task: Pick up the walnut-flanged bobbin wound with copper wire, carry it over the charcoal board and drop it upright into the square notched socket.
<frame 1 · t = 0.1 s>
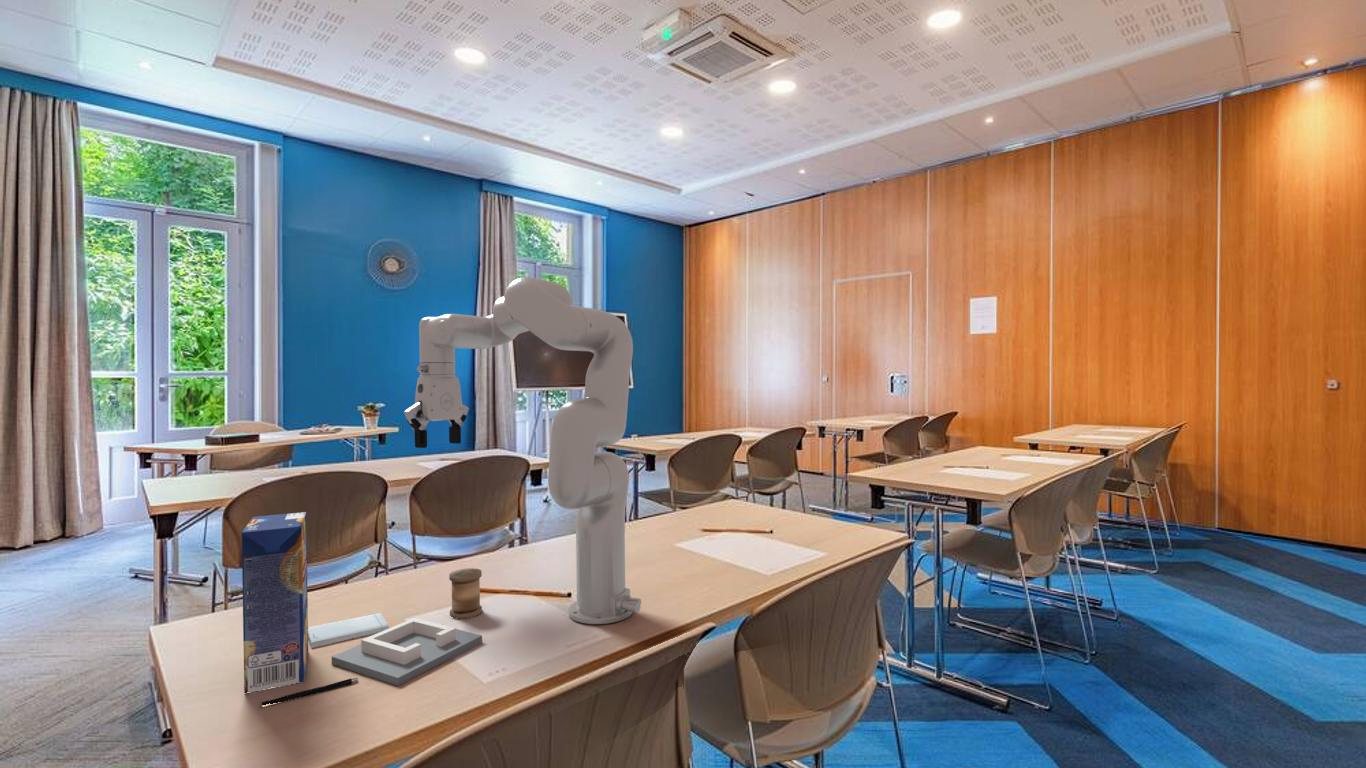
hand: (438, 445, 141), 31 cm above the table, tool pointing down, fingers open, 9 cm apart
bobbin: (466, 613, 121), on the table
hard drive: (347, 635, 113), on the table
notched board: (409, 652, 104), on the table
black pencil: (311, 697, 91), on the table
juice carton: (278, 673, 98), on the table
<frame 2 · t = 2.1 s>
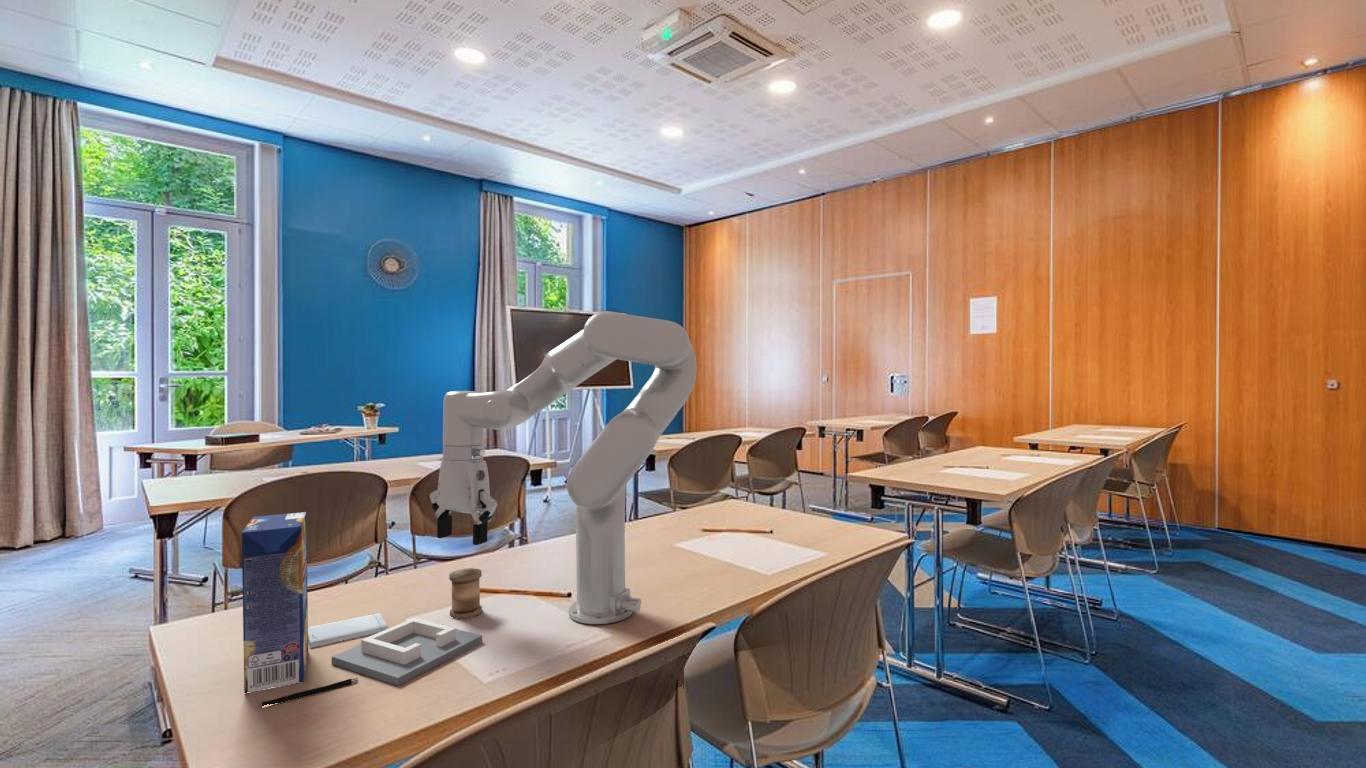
hand: (462, 540, 121), 15 cm above the table, tool pointing down, fingers open, 9 cm apart
nothing on the table moved.
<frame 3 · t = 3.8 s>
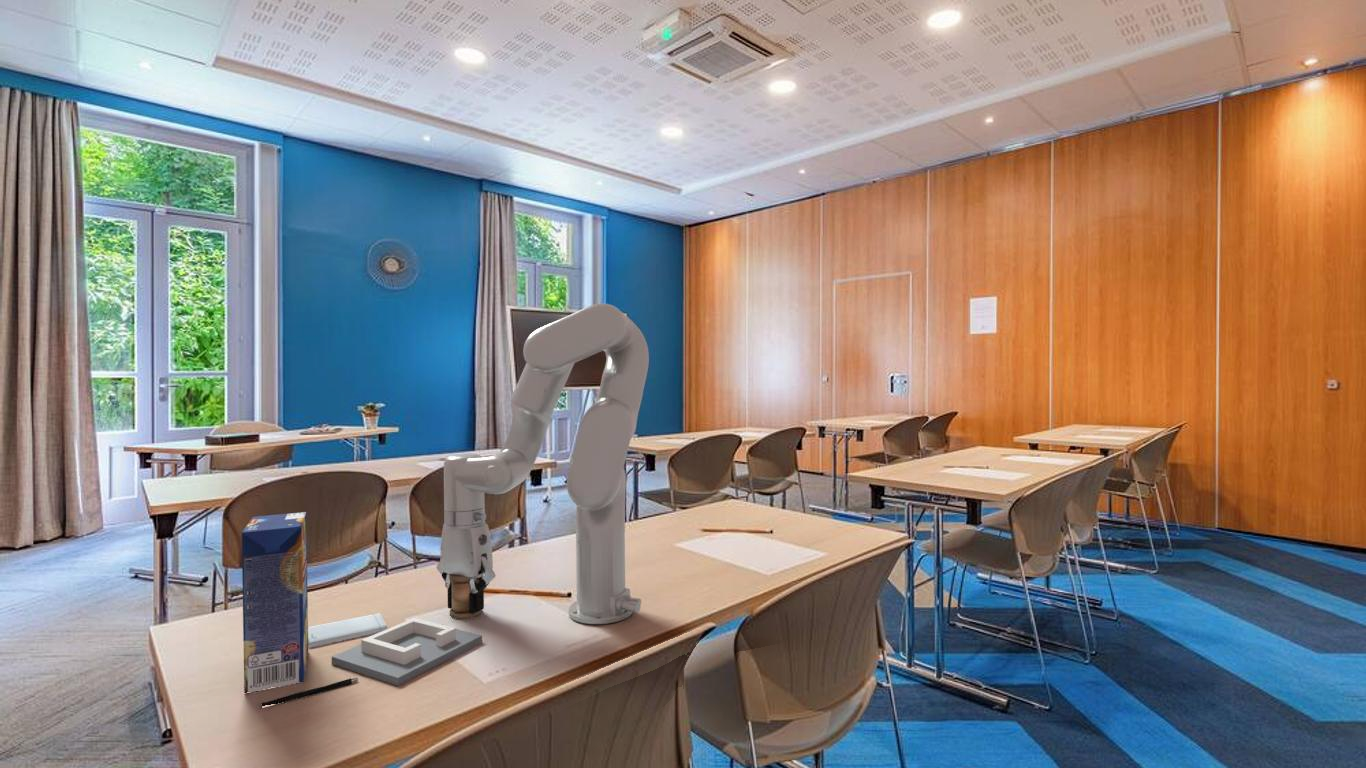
hand: (465, 607, 121), 1 cm above the table, tool pointing down, fingers closed on bobbin, 5 cm apart
bobbin: (465, 613, 121), on the table, touching gripper
everything else where it was.
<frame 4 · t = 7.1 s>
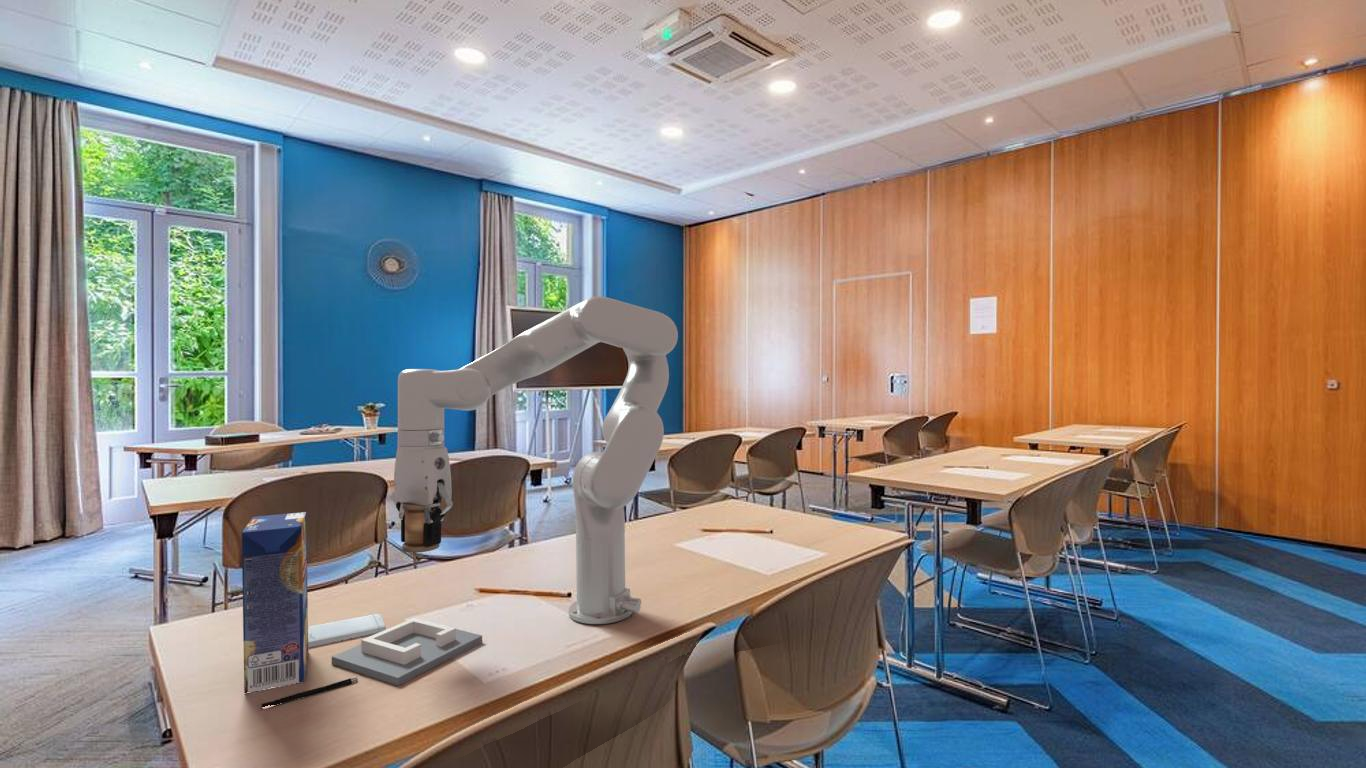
hand: (421, 541, 108), 18 cm above the table, tool pointing down, fingers closed on bobbin, 5 cm apart
bobbin: (421, 547, 108), point 17 cm above the table, touching gripper
everything else where it was.
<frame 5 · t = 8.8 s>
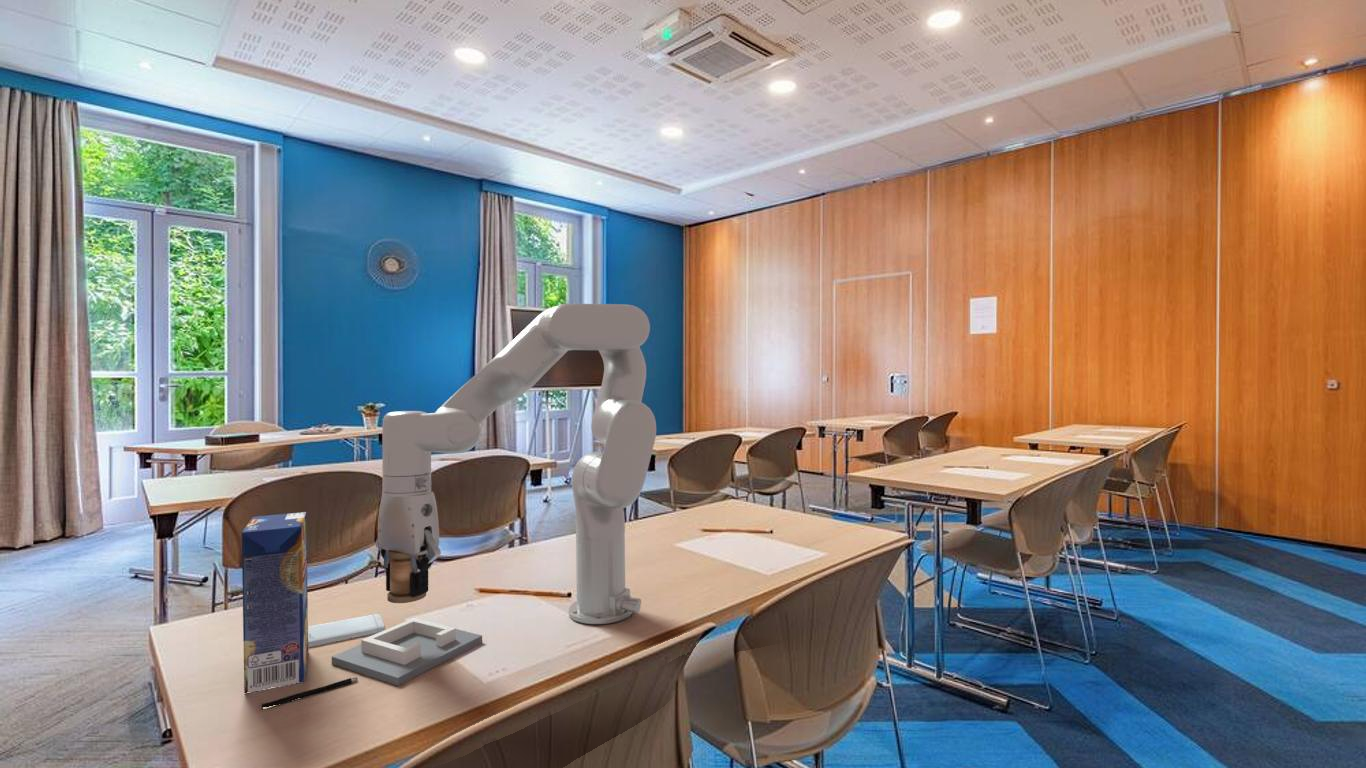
hand: (407, 590, 104), 11 cm above the table, tool pointing down, fingers closed on bobbin, 5 cm apart
bobbin: (407, 596, 104), point 10 cm above the table, touching gripper
everything else where it was.
when the fingers open (5 cm above the table, at t = 10.2 s): bobbin drops 3 cm, resting on notched board.
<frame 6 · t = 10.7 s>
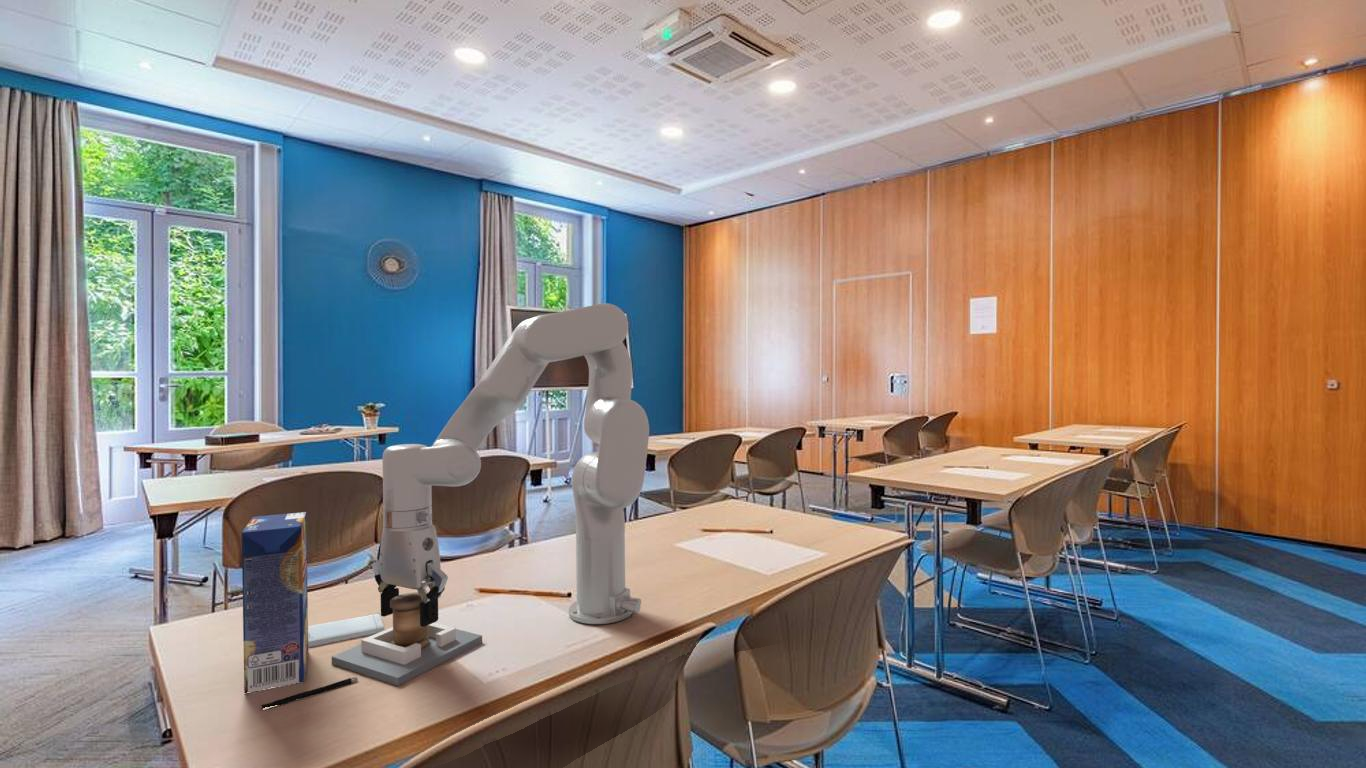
hand: (409, 618, 104), 6 cm above the table, tool pointing down, fingers open, 9 cm apart
bobbin: (410, 645, 104), point 1 cm above the table, touching notched board
everything else where it was.
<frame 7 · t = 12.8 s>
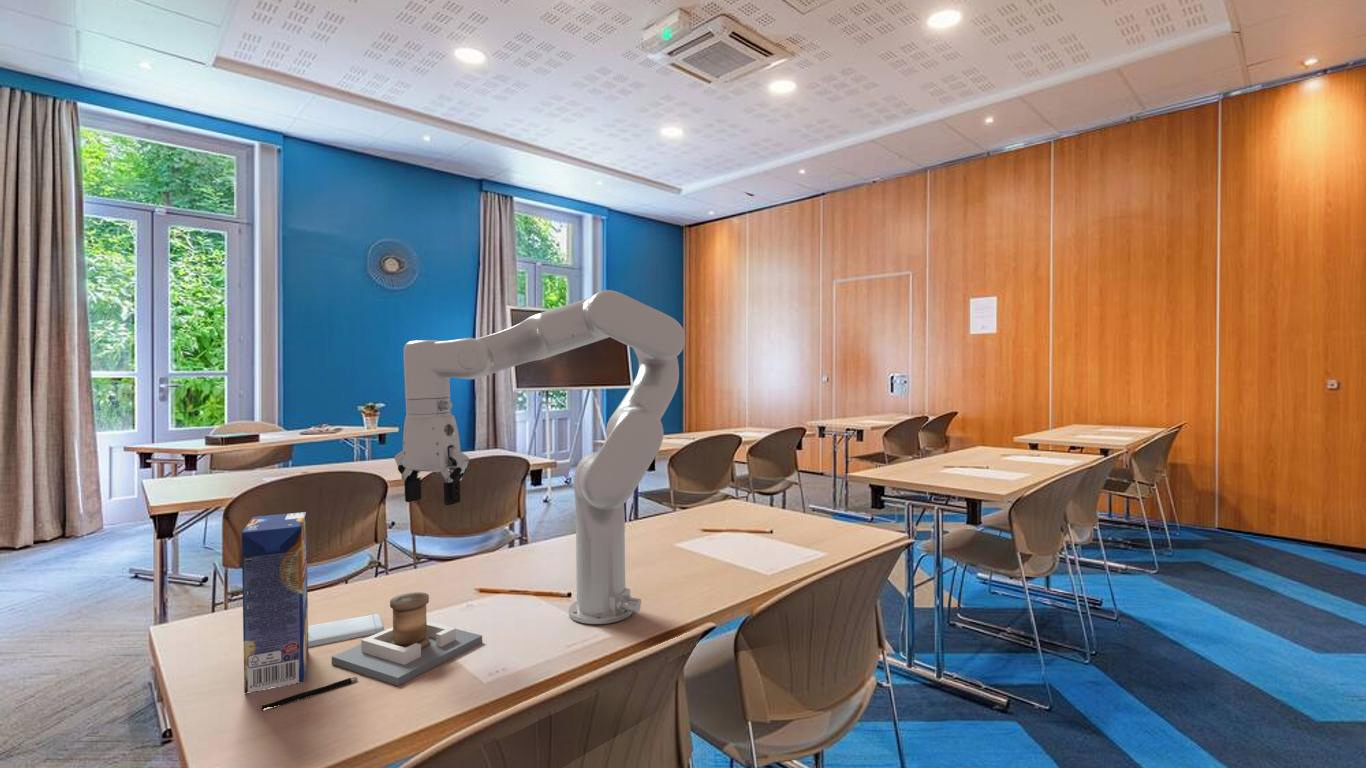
hand: (432, 502, 112), 24 cm above the table, tool pointing down, fingers open, 9 cm apart
nothing on the table moved.
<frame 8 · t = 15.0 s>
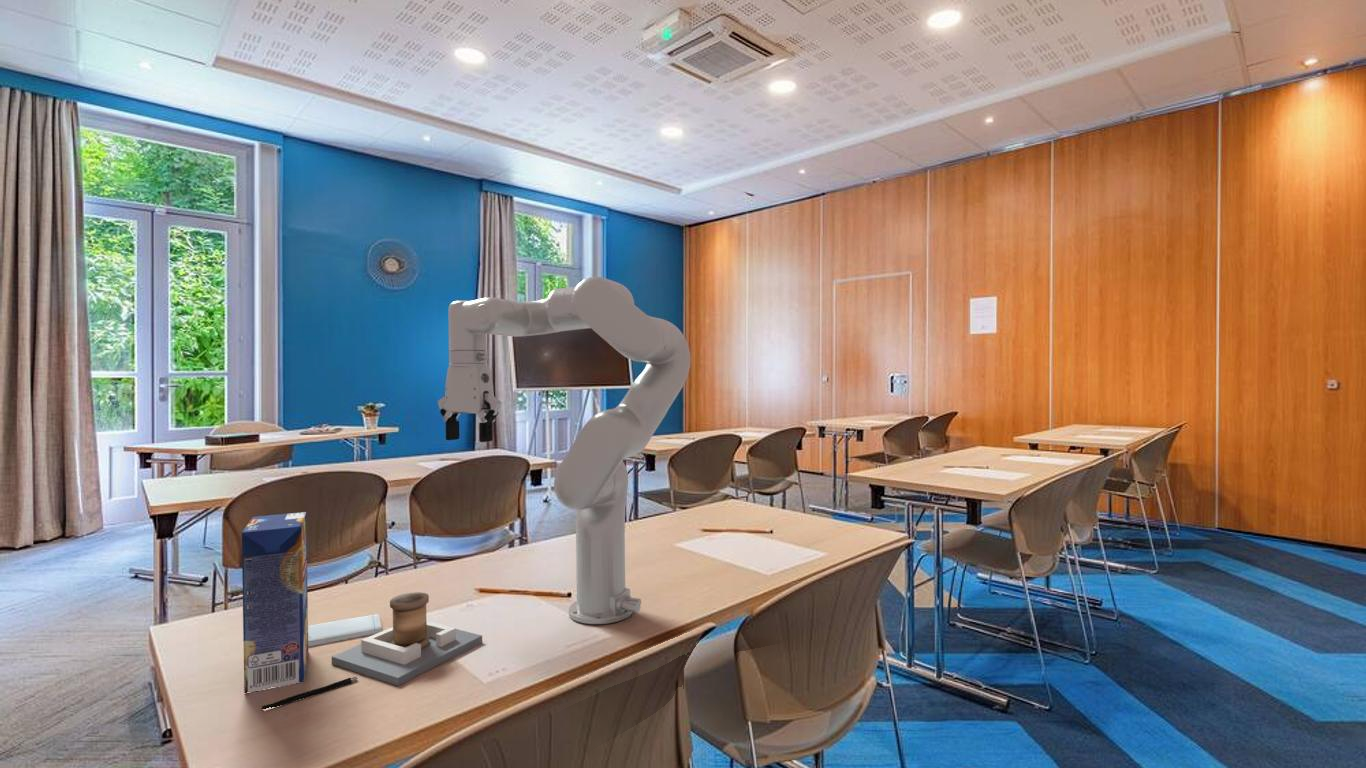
hand: (469, 440, 130), 33 cm above the table, tool pointing down, fingers open, 9 cm apart
nothing on the table moved.
at the end: bobbin 0.1 cm off-centre on the notched board, point 1.2 cm above the notched board's base; bobbin tilted 0°; the gripper is holding nothing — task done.
